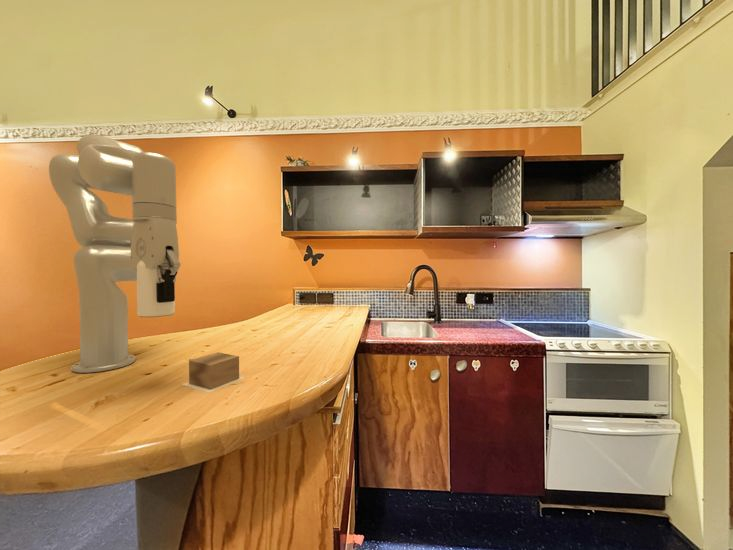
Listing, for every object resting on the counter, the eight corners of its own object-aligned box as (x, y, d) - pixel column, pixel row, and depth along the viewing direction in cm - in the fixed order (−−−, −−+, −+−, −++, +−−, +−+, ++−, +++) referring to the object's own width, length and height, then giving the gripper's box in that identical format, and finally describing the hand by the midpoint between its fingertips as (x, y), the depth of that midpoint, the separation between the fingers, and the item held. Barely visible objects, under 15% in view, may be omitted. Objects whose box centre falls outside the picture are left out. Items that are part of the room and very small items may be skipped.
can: (154, 318, 58) (154, 257, 58) (129, 317, 60) (128, 257, 60) (182, 313, 65) (181, 258, 64) (158, 312, 66) (157, 258, 66)
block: (189, 383, 64) (188, 360, 63) (218, 373, 70) (218, 352, 70) (210, 389, 60) (210, 365, 60) (239, 378, 67) (239, 356, 67)
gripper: (113, 216, 63) (115, 301, 63) (158, 207, 55) (160, 305, 55) (153, 221, 69) (154, 298, 70) (197, 214, 61) (199, 301, 61)
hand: (156, 300), depth 62 cm, fingers closed on can, 6 cm apart
